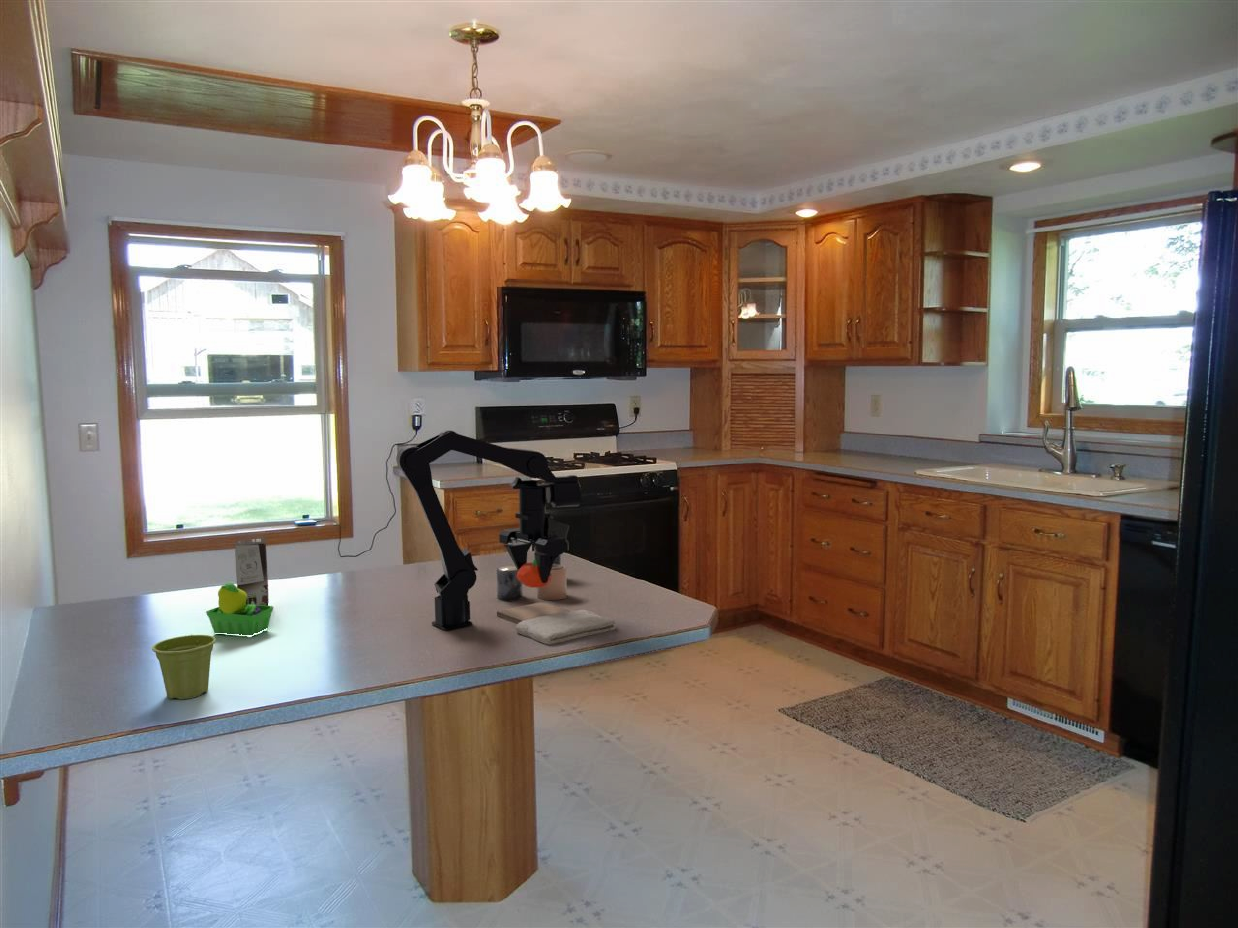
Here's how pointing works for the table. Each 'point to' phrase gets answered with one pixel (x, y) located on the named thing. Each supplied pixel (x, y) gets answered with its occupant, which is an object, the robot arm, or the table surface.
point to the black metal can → (508, 584)
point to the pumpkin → (531, 575)
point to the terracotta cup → (554, 585)
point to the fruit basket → (238, 613)
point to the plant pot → (185, 664)
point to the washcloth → (564, 626)
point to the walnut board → (529, 612)
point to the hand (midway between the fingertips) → (533, 579)
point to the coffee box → (252, 569)
